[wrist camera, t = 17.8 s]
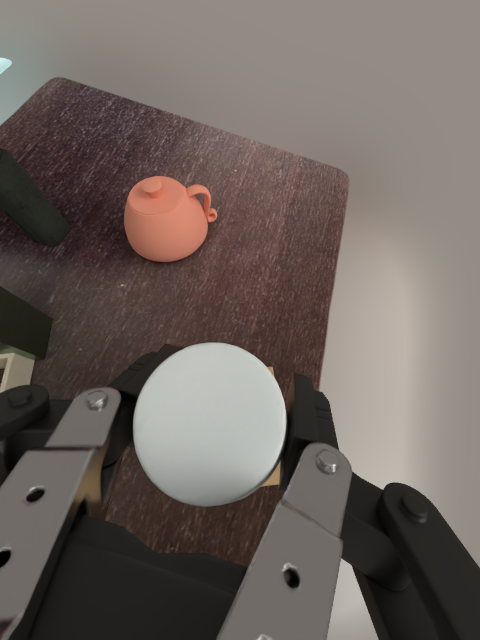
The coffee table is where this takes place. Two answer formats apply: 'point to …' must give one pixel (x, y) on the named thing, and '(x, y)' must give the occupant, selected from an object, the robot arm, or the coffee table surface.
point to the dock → (15, 370)
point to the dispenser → (22, 327)
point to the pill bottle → (210, 425)
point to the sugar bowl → (166, 219)
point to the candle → (28, 204)
